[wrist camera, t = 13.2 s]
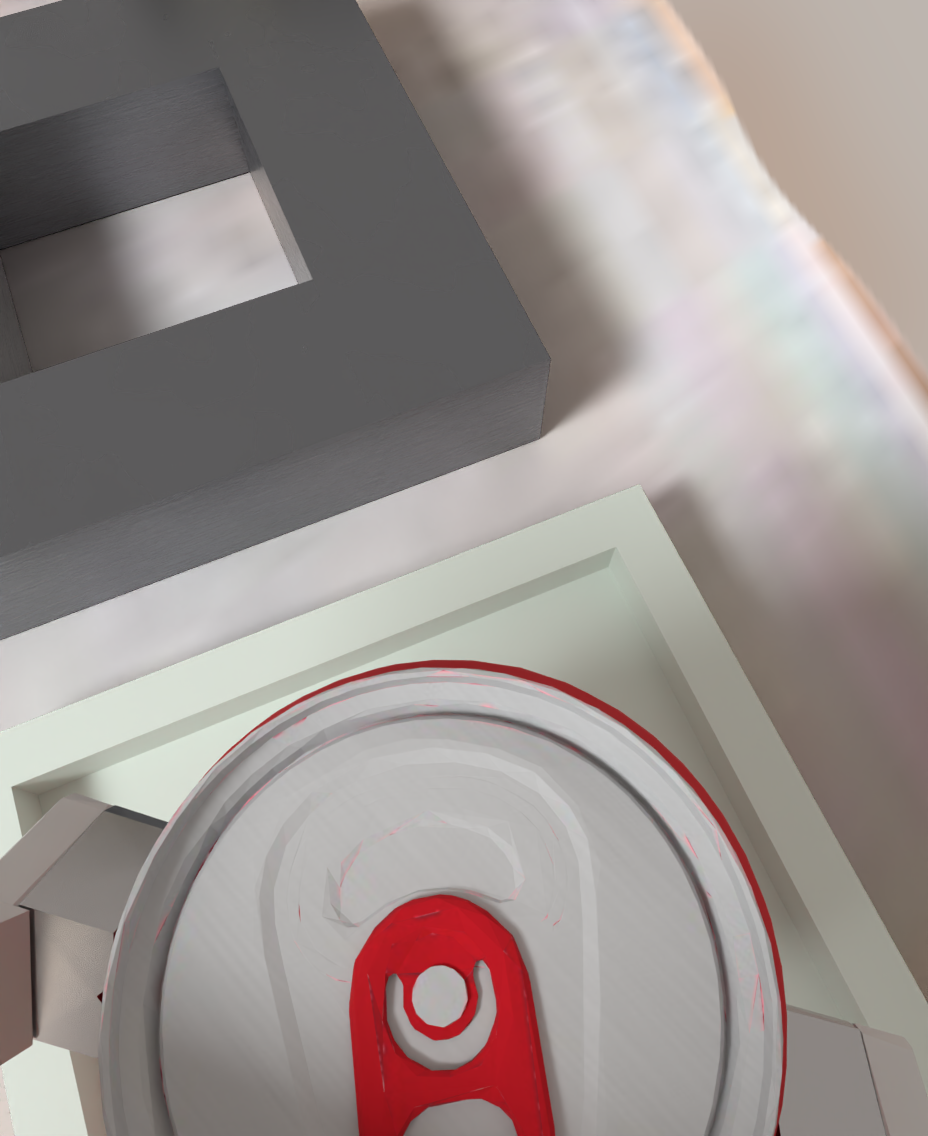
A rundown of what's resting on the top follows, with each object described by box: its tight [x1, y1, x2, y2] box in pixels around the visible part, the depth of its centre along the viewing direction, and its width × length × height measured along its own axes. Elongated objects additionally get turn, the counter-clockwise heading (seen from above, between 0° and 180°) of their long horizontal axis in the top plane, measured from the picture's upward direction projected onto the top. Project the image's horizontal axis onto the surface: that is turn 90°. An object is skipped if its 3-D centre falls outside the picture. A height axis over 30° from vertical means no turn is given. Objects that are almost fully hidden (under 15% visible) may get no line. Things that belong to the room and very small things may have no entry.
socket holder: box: [0, 0, 551, 640], centre depth 23 cm, size 16×16×4 cm
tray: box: [0, 484, 928, 1136], centre depth 17 cm, size 16×16×2 cm
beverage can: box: [98, 660, 787, 1136], centre depth 12 cm, size 6×6×12 cm
